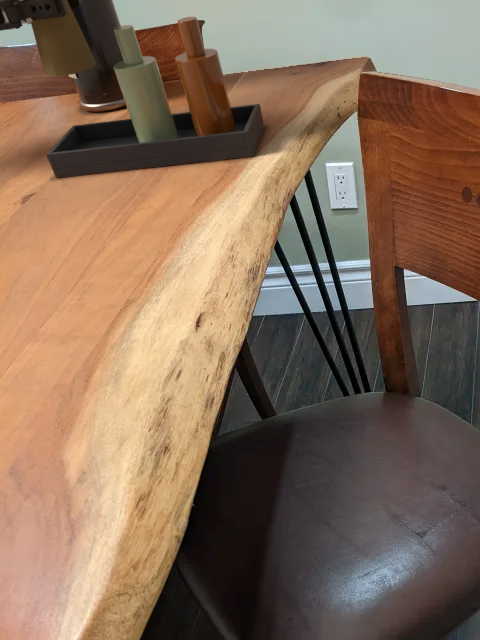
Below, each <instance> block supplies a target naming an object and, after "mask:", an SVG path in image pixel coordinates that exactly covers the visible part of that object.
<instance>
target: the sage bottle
mask: <svg viewBox="0 0 480 640" xmlns="http://www.w3.org/2000/svg"><path fill="white" fill-rule="evenodd" d="M114 32H115V35H116V38H117V41H118V44H119V47H120V50H121V53H122V56H123V59H124V61H121V62H119V63H117V64H115V65H114V67H113V68H114V71H115V74H116V77H117V79H118V82H119V85H120V88H121V91H122V94H123V97H124V100H125V103H126V106H125V107H126V109H127V112H128V114H129V115H128V116H129V117H130V118H129V119H131V121H132V124H133V127H134V130H135V133H136V135H137V138H138V141H139V143H141V142H150V141H158V140H167V139H176V138H179V135H178V132H177V129H176V125H175V122H174V119H173V115H172V114H173V111H172V108H171V105H170V102H169V99H168V96H167V92H166V89H165V86H164V82H163V78H162V75H161V73H160V69H159V65H158V62H157V59H156V57H154V56H151V55H147V56H145V55H143V54H142V51H141V47H140V44H139V41H138V37H137V33H136V31H135V28H134V25H132V24H125V25H121V26H120V27H117V28H115V29H114Z"/></svg>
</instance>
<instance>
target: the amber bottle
mask: <svg viewBox="0 0 480 640" xmlns="http://www.w3.org/2000/svg"><path fill="white" fill-rule="evenodd" d="M198 21H199V20H198V17H197V16H187V17H181V18H179V19H178V20H177V21H176V22H177V26H178V29H179V33H180V37H181V41H182V45H183V48H184V52H183V53H181V54H179V55H177V56H176V57H175V58H174V61H175V64H176V68H177V72H178V76H179V79H180V82H181V86H182V89H183V90H182V91H183V93H184V96H185V100H186V104H187V107H188V112H190V114H191V118H192V122H193V125H194V129H195V132H196V136H202V135H211V134H220V133H229V132H237V131H236V127H235V122H234V118H233V114H232V110H231V107H232V106H231V102H230V97H229V94H228V91H227V90H228V89H227V86H226V81H225V77H224V73H223V68H222V65H221V61H220V57H219V53H218V52H219V51H218V50H217V49H216V48H205V45H204V41H203V37H202V33H201V30H200V25H199V22H198Z"/></svg>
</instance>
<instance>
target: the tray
mask: <svg viewBox="0 0 480 640" xmlns="http://www.w3.org/2000/svg"><path fill="white" fill-rule="evenodd" d="M231 110H232V114H233V118H234V122H235V127H236V131H237V132H229V133H220V134H211V135H202V136H196V132H195V129H194V125H193V122H192V118H191V114H190V111H185V112H177V113H172V115H173V119H174V122H175V125H176V129H177V132H178V135H179V138H176V139H167V140H158V141H150V142H141V143H139V141H138V138H137V135H136V133H135V130H134V127H133V124H132V121H131V118H126V119H118V120H109V121H108V120H107V121H102V122H101V121H100V122H92V123H83V124H75V125H72V127H71V128H69V129H68V131H67V132H66V133H64V135H63V136H62V137H61V138H60V139H59V140H58V141H57V142H56V144H54V146H52V148H51V149H50V150H49V151H47V153H46V154H45V156H46V159H47V161H48V164H49V165H50V167H51V168H50V169H51V170H52V172H53V175H54V176H55V179H61V178H69V177H78V176H89V175H96V174H97V175H98V174H107V173H117V172H123V171H125V172H126V171H132V170H141V169H153V168H160V167H170V166H179V165H189V164H197V163H205V162H215V161H223V160H233V159H245V158H250V157H254V156H255V153H256V150H257V147H258V144H259V142H260V139H261V137H262V134H263V131H264V129H265V123H264V120H263V114H262V109H261V104H260V103H253V104H247V105H246V104H245V105H235V106H231Z"/></svg>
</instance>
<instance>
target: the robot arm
mask: <svg viewBox="0 0 480 640" xmlns="http://www.w3.org/2000/svg"><path fill="white" fill-rule="evenodd" d="M67 1H68V3H69V5H70V8H71V10H72V12H73V14H74V16H75V18H76V20H77V23H78V25H79V27H80V29H81V31H82V33H83V36H84V38H85V40H86V42H87V44H88V46H89V49H90V51H91V53H92V55H93V57H94V59H95V62H96V65H95V66H94V67H92V68H90V69H88V70H86V71H83V72H79V73H75V74H71V75H68V77H69V78H71V80H72V83H73V86H74V88H75V91H76V94H77V96H78V99H79V103H80V105H81V109H82V110H84V111H85V112H92V113H93V112H95V113H98V112H108V111H112V110H113V111H114V110H117V109H122V108H125V107H127V106H126V103H125V100H124V97H123V94H122V91H121V88H120V85H119V82H118V79H117V77H116V74H115V71H114V68H113V67H114V65H115V64H117V63H119V62H121V61H124V59H123V56H122V53H121V50H120V47H119V44H118V41H117V38H116V35H115V32H114V29H115V28H117V27H120V26H122V25H121V22H120V19H119V17H118V13H117V10H116V6H115V4H114V1H113V0H67ZM65 15H67V8H66V5H65V2H64V0H0V32H1V31H11V30H14V29H15V30H18V29H21V27H23V25H25V24H27V25H31V23H32V22H34V19H35V20H40V19H48V18H57V17H64V16H65ZM33 17H34V19H33Z"/></svg>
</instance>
